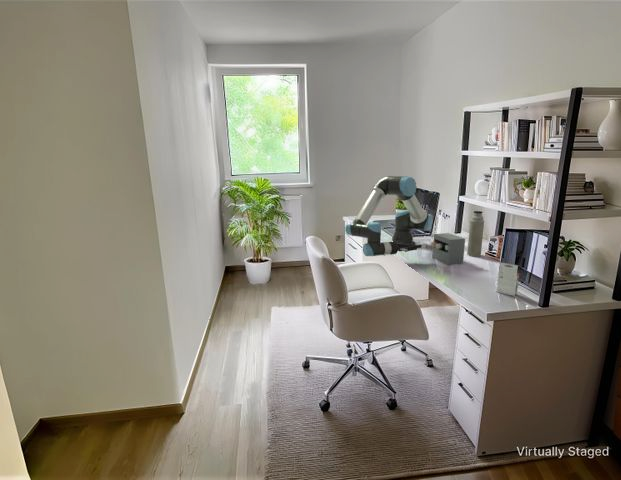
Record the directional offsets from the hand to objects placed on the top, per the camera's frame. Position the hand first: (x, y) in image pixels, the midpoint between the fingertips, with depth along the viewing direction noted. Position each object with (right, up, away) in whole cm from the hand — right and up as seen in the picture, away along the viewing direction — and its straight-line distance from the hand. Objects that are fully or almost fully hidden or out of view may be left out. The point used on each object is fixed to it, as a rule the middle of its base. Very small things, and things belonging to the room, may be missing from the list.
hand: (425, 245), depth 222 cm
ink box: (+22, -22, -51) cm, 59 cm away
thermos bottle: (+35, -7, +13) cm, 38 cm away
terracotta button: (+7, -1, +3) cm, 8 cm away
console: (+14, -9, +1) cm, 17 cm away
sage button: (+13, -3, -6) cm, 14 cm away
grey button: (+9, -2, -2) cm, 9 cm away
